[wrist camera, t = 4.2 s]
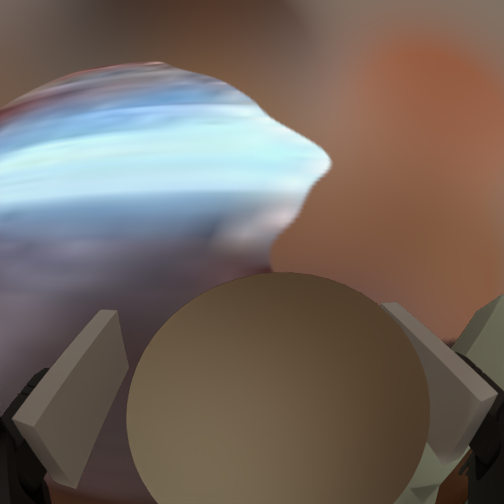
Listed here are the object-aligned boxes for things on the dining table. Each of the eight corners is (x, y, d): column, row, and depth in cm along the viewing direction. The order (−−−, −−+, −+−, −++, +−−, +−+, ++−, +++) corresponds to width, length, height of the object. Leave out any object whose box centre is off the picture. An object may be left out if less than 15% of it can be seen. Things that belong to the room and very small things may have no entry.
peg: (240, 468, 12) (245, 599, 2) (193, 403, 14) (71, 360, 3) (308, 423, 13) (474, 419, 3) (261, 361, 15) (314, 221, 5)
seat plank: (368, 623, 4) (385, 641, 2) (242, 524, 10) (242, 546, 8) (545, 427, 11) (571, 421, 8) (476, 311, 17) (502, 293, 14)
